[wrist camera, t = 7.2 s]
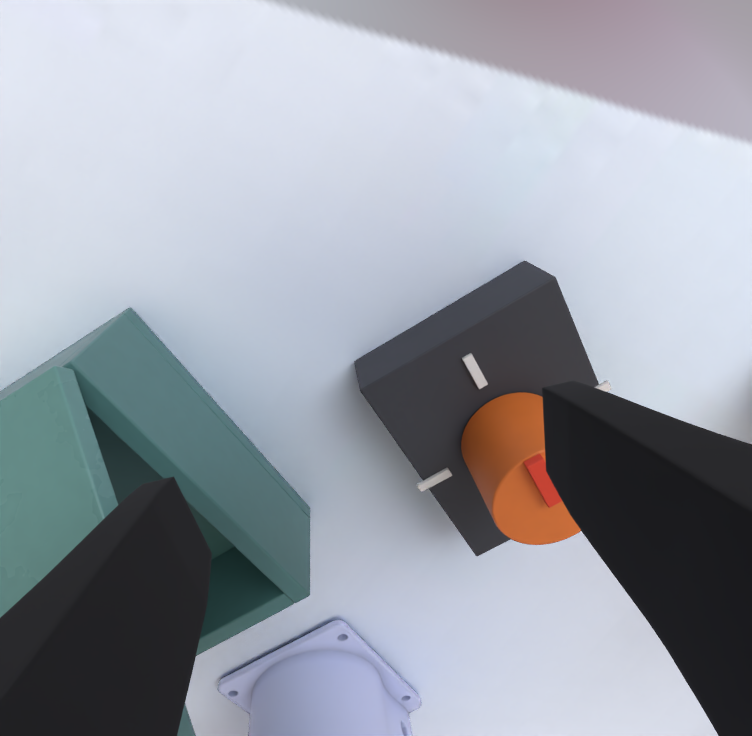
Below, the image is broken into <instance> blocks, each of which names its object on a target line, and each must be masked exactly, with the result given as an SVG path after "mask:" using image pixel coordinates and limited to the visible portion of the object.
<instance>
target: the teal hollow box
mask: <svg viewBox="0 0 752 736" xmlns="http://www.w3.org/2000/svg"><path fill="white" fill-rule="evenodd" d="M53 366H59V367H64V368H69V369H72V370H73V371H74V373H75V376H76V379H77V382H78V385H79V388H80V391H81V394H82V397H83V400H84V403H85V406H86V409H87V412H88V415H89V418H90V421H91V424H92V427H93V430H94V433H95V436H96V439H97V442H98V445H99V448H100V451H101V454H102V457H103V460H104V463H105V466H106V469H107V472H108V475H109V478H110V481H111V484H112V487H113V490H114V493H115V496H116V499H117V502H118V505H119V504H120V503H121V502H122V501H123V500H124V499H125V498H126V497H127V496H129V495H130V494H131V493H132V492H133V491H134V490H136V489H137V488H138V487H139V486H140V485H142V484H144V483H149V482H153V481H157V480H161V479H165V478H169V477H173V476H174V478H175V480H176V482H177V484H178V486H179V488H180V490H181V492H182V494H183V496H184V498H185V500H186V502H187V504H188V506H189V508H190V510H191V512H192V514H193V516H194V518H195V520H196V522H197V524H198V526H199V528H200V530H201V532H202V534H203V536H204V538H205V540H206V542H207V544H208V546H209V548H210V550H211V552H212V559H211V571H210V583H209V592H208V601H207V608H206V612H205V617H204V622H203V626H202V631H201V635H200V639H199V644H198V648H197V653H196V656H197V655H198V654H200V653H202V652H204V651H206V650H208V649H210V648H212V647H214V646H215V645H217V644H219V643H221V642H223V641H225V640H227V639H229V638H231V637H232V636H234V635H236V634H238V633H240V632H242V631H244V630H246V629H248V628H249V627H251V626H253V625H255V624H257V623H259V622H261V621H263V620H265V619H266V618H268V617H270V616H272V615H274V614H276V613H278V612H280V611H282V610H283V609H285V608H287V607H289V606H291V605H293V604H294V603H297V602H299V601H300V600H302V599H304V598H306V597H308V596H309V595H310V508H309V507H308V505H307V504H306V503H305V502H304V501H303V500H302V499H301V498H300V496H299V495H298V494H297V493H296V492H295V491H294V490H293V489H292V487H291V486H290V485H289V484H288V483H287V482H286V481H285V480H284V479H283V477H282V476H281V475H280V474H279V473H278V472H277V471H276V470H275V468H274V467H273V466H272V465H271V464H270V463H269V462H268V461H267V460H266V458H265V457H264V456H263V455H262V454H261V453H260V452H259V451H258V449H257V448H256V447H255V446H254V445H253V444H252V443H251V442H250V440H249V439H248V438H247V437H246V436H245V435H244V434H243V433H242V432H241V430H240V429H239V428H238V427H237V426H236V425H235V424H234V423H233V421H232V420H231V419H230V418H229V417H228V416H227V415H226V414H225V412H224V411H223V410H222V409H221V408H220V407H219V406H218V405H217V404H216V402H215V401H214V400H213V399H212V398H211V397H210V396H209V395H208V393H207V392H206V391H205V390H204V389H203V388H202V387H201V386H200V384H199V383H198V382H197V381H196V380H195V379H194V378H193V377H192V376H191V374H190V373H189V372H188V371H187V370H186V369H185V368H184V367H183V365H182V364H181V363H180V362H179V361H178V360H177V359H176V358H175V357H174V355H173V354H172V353H171V352H170V351H169V350H168V349H167V348H166V346H165V345H164V344H163V343H162V342H161V341H160V340H159V339H158V337H157V336H156V335H155V334H154V333H153V332H152V331H151V330H150V329H149V327H148V326H147V325H146V324H145V323H144V322H143V321H142V320H141V318H140V317H139V316H138V315H137V314H136V313H135V312H134V311H133V309H132V308H128V309H126V310H125V311H123V312H122V313H120V314H119V315H117V316H116V317H114V318H113V319H111V320H109V321H108V322H106V323H105V324H103V325H102V326H100V327H99V328H97V329H96V330H94V331H93V332H91V333H89V334H88V335H86V336H85V337H83V338H82V339H80V340H79V341H77V342H76V343H74V344H73V345H71V346H69V347H68V348H66V349H65V350H63V351H62V352H60V353H59V354H57V355H56V356H54V357H53V358H51V359H49V360H48V361H46V362H45V363H43V364H42V365H40V366H39V367H37V368H36V369H34V370H33V371H31V372H30V373H28V374H26V375H25V376H23V377H22V378H20V379H19V380H17V381H16V382H14V383H13V384H11V385H10V386H8V387H6V388H5V389H3V390H2V391H0V400H2V399H3V398H5V397H7V396H8V395H10V394H11V393H13V392H14V391H16V390H17V389H19V388H20V387H22V386H23V385H25V384H27V383H28V382H30V381H31V380H33V379H34V378H36V377H37V376H39V375H40V374H42V373H44V372H45V371H47V370H48V369H50V368H51V367H53Z"/></svg>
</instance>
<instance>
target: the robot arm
mask: <svg viewBox="0 0 752 736" xmlns="http://www.w3.org/2000/svg"><path fill="white" fill-rule="evenodd" d="M542 396H543V417H544V438H545V459H546V472H547V474H548V476H549V477H550V479H551V481H552V483H553V485H554V487H555V489H556V491H557V492H558V494H559V496H560V498H561V500H562V501H563V503H564V505H565V507H566V508H567V510H568V512H569V514H570V515H571V517H572V518H573V520H574V521H575V522H576V524H577V525H578V527H579V528H580V529H581V531H582V532H583V533H584V535H585V536H586V538H587V539H588V540H589V542H590V543H591V545H592V546H593V547H594V549H595V550H596V551H597V553H598V554H599V555H600V557H601V558H602V560H603V561H604V562H605V564H606V565H607V566H608V568H609V569H610V570H611V572H612V573H613V574H614V576H615V577H616V578H617V580H618V581H619V583H620V584H621V585H622V587H623V588H624V589H625V591H626V592H627V593H628V595H629V596H630V597H631V599H632V600H633V602H634V603H635V604H636V606H637V607H638V608H639V610H640V611H641V612H642V614H643V615H644V616H645V618H646V619H647V621H648V622H649V624H650V625H651V626H652V628H653V629H654V631H655V632H656V634H657V635H658V637H659V638H660V640H661V641H662V643H663V644H664V646H665V647H666V649H667V650H668V652H669V654H670V655H671V657H672V658H673V660H674V662H675V663H676V665H677V667H678V668H679V670H680V672H681V673H682V675H683V677H684V678H685V680H686V682H687V683H688V685H689V686H690V688H691V690H692V691H693V693H694V695H695V696H696V698H697V700H698V701H699V703H700V705H701V706H702V708H703V709H704V711H705V713H706V715H707V716H708V718H709V720H710V722H711V723H712V725H713V727H714V728H715V730H716V732H717V734H718V735H719V736H752V445H751V444H748V443H745V442H742V441H739V440H736V439H733V438H730V437H727V436H724V435H721V434H718V433H715V432H712V431H709V430H706V429H703V428H700V427H698V426H695V425H692V424H689V423H686V422H684V421H681V420H678V419H675V418H673V417H670V416H667V415H665V414H662V413H660V412H657V411H654V410H652V409H649V408H646V407H644V406H641V405H639V404H636V403H634V402H631V401H628V400H626V399H623V398H621V397H618V396H616V395H613V394H610V393H608V392H605V391H603V390H600V389H597V388H594V387H592V386H589V385H586V384H583V383H580V382H577V381H573V380H572V381H568V382H564V383H560V384H555V385H551V386H547V387H543V388H542ZM211 559H212V552H211V550H210V548H209V546H208V544H207V542H206V540H205V538H204V536H203V534H202V532H201V530H200V528H199V526H198V524H197V522H196V520H195V518H194V516H193V514H192V512H191V510H190V508H189V506H188V504H187V502H186V500H185V498H184V496H183V494H182V492H181V490H180V488H179V486H178V484H177V482H176V480H175V478H174V476H173V477H169V478H165V479H161V480H157V481H153V482H149V483H144V484H142V485H140V486H139V487H138V488H137V489H136V490H134V491H133V492H132V493H131V494H130V495H129V496H127V497H126V498H125V499H124V500H123V501H122V502H121V503H120V504H119V505H118V506H117V507H116V508H115V509H114V510H113V511H112V512H110V513H109V514H108V515H107V516H106V517H105V518H104V519H103V520H102V521H101V522H100V523H99V524H98V525H97V526H96V527H95V528H94V529H93V530H92V531H91V532H90V533H89V534H88V535H87V536H86V537H85V538H84V539H83V540H82V541H81V542H80V543H79V544H78V545H77V546H76V547H75V548H74V549H73V550H72V551H71V552H70V553H69V554H68V555H67V556H66V557H64V558H63V559H62V560H61V561H60V562H59V563H58V564H57V565H56V566H55V567H54V568H53V569H52V570H51V571H50V572H49V573H48V574H47V575H46V576H45V577H44V578H43V579H42V580H41V581H40V582H38V583H37V584H36V585H35V586H34V587H33V588H32V589H31V590H30V591H29V592H28V593H27V594H25V595H24V596H23V597H22V598H21V599H20V600H19V601H18V602H17V603H16V604H15V605H14V606H12V607H11V608H10V609H9V610H8V611H7V612H6V613H5V614H4V615H3V616H2V617H1V618H0V736H177V734H178V730H179V725H180V721H181V717H182V712H183V708H184V704H185V700H186V695H187V691H188V687H189V683H190V678H191V674H192V670H193V665H194V661H195V657H196V653H197V648H198V644H199V639H200V635H201V631H202V626H203V622H204V617H205V612H206V608H207V601H208V592H209V583H210V571H211ZM218 691H219V692H220V693H221V694H222V695H224V696H225V697H227V698H228V699H229V700H231V701H232V702H234V703H235V704H236V705H238V706H239V707H241V708H242V709H243V710H245V711H246V712H248V713H249V714H250V721H249V731H248V736H413V735H412V729H411V723H410V718H409V713H411V712H413V711H415V710H417V709H418V708H420V706H421V704H422V702H421V698H420V696H419V695H418V694H417V693H416V692H415V691H414V690H413V689H412V688H411V687H410V686H409V685H408V684H407V683H406V682H405V681H404V680H403V679H402V678H401V677H400V676H399V675H398V674H397V673H396V672H395V671H394V670H393V669H392V668H391V667H390V666H389V665H388V664H387V663H386V662H385V661H384V660H383V659H382V658H381V657H380V656H379V655H378V654H377V653H376V652H375V651H374V650H373V649H371V648H370V647H369V646H368V645H367V644H366V643H365V642H364V641H363V640H362V639H361V638H360V637H359V636H358V635H357V634H356V633H355V632H354V631H353V630H352V629H351V628H350V627H349V626H348V625H347V624H346V623H345V622H344V621H342V620H334V621H332V622H330V623H328V624H326V625H324V626H322V627H320V628H318V629H316V630H315V631H313V632H311V633H309V634H307V635H305V636H303V637H301V638H299V639H297V640H295V641H293V642H291V643H289V644H288V645H286V646H284V647H282V648H280V649H278V650H276V651H274V652H272V653H270V654H268V655H266V656H264V657H262V658H261V659H259V660H257V661H255V662H253V663H251V664H249V665H247V666H245V667H243V668H241V669H239V670H237V671H235V672H234V673H232V674H230V675H228V676H226V677H224V678H222V679H221V680H220V681H219V684H218Z"/></svg>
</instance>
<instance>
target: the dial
mask: <svg viewBox="0 0 752 736" xmlns="http://www.w3.org/2000/svg"><path fill="white" fill-rule="evenodd" d="M461 451H462V455H463V459H464V461H465V463H466V465H467V467H468V469H469V471H470V473H471V475H472V477H473V479H474V481H475V483H476V485H477V487H478V489H479V491H480V493H481V496H482V498H483V500H484V502H485V504H486V506H487V508H488V510H489V512H490V514H491V516H492V518H493V520H494V522H495V524H496V526H497V527H498V529H499V530H500V531H501V532H502V533H503V534H504V535H506V536H507V537H509V538H510V539H512V540H514V541H517V542H520V543H524V544H530V545H543V544H550V543H554V542H558V541H561V540H564V539H567V538H569V537H571V536H573V535H575V534H577V533H579V532H580V531H581V529H580V528H579V527H578V525H577V524H576V522H575V521H574V520H573V518H572V517H571V515H570V514H569V512H568V510H567V508H566V507H565V505H564V503H563V501H562V500H561V498H560V496H559V494H558V492H557V491H556V489H555V487H554V485H553V483H552V481H551V479H550V477H549V476H548V474H547V472H546V459H545V438H544V417H543V397H542V396H539V395H536V394H533V393H526V392H517V393H510V394H506V395H503V396H500V397H497V398H495V399H493V400H491V401H489V402H488V403H486V404H485V405H484V406H482V407H481V408H480V409H479V410H478V411H477V412H476V413H475V414H474V415H473V416H472V417H471V419H470V420H469V422H468V423H467V425H466V427H465V429H464V432H463V435H462V441H461Z"/></svg>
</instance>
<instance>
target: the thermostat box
mask: <svg viewBox="0 0 752 736" xmlns="http://www.w3.org/2000/svg"><path fill="white" fill-rule="evenodd" d="M355 367H356V372H357V376H358V381H359V386H360V391H361V392H362V394H363V395H364V397H365V398H366V400H367V401H368V402H369V404H370V405H371V407H372V408H373V410H374V411H375V412H376V414H377V415H378V417H379V418H380V420H381V421H382V422H383V424H384V425H385V427H386V428H387V430H388V431H389V432H390V434H391V435H392V437H393V438H394V439H395V441H396V442H397V444H398V445H399V447H400V448H401V449H402V451H403V452H404V454H405V455H406V457H407V458H408V459H409V461H410V462H411V464H412V465H413V467H414V468H415V469H416V471H417V472H418V474H419V475H420V477H421V478H422V479H423V481H421V482H420V483H418V484H417V487H418V488H419V490H420V491H421V492H423V491H425V490H427V489H428V488H429V489H430V491H431V492H432V494H433V495H434V496H435V498H436V499H437V501H438V502H439V504H440V505H441V506H442V508H443V509H444V511H445V512H446V514H447V515H448V516H449V518H450V519H451V521H452V522H453V524H454V525H455V526H456V528H457V529H458V531H459V532H460V533H461V535H462V536H463V538H464V539H465V541H466V542H467V543H468V545H469V546H470V548H471V549H472V551H473V552H474V553H475V555H476V556H479V555H481V554H483V553H485V552H487V551H489V550H490V549H492V548H494V547H496V546H498V545H500V544H502V543H504V542H506V541H508V540H510V538H509V537H507V536H506V535H504V534H503V533H502V532H501V531H500V530H499V529H498V527H497V526H496V524H495V522H494V520H493V518H492V516H491V514H490V512H489V510H488V508H487V506H486V504H485V502H484V500H483V498H482V496H481V493H480V491H479V489H478V487H477V485H476V483H475V481H474V479H473V477H472V475H471V473H470V471H469V469H468V467H467V465H466V463H465V461H464V459H463V455H462V451H461V441H462V435H463V432H464V429H465V427H466V425H467V423H468V422H469V420H470V419H471V417H472V416H473V415H474V414H475V413H476V412H477V411H478V410H479V409H480V408H481V407H482V406H484V405H485V404H486V403H488V402H489V401H491V400H493V399H495V398H497V397H500V396H503V395H506V394H510V393H517V392H526V393H533V394H536V395H539V396H542V388H543V387H547V386H551V385H555V384H560V383H564V382H568V381H572V380H573V381H577V382H580V383H583V384H586V385H589V386H592V387H594V388H597V389H600V390H603V391H605V392H607V391H609V390H611V386H610V383H609V382H608V381H605V382H603V383H601V384H599V383H598V381H597V379H596V376H595V374H594V371H593V369H592V366H591V364H590V361H589V359H588V356H587V354H586V351H585V349H584V346H583V344H582V342H581V339H580V337H579V334H578V332H577V329H576V327H575V324H574V322H573V319H572V317H571V314H570V312H569V309H568V307H567V304H566V302H565V300H564V297H563V295H562V292H561V290H560V287H559V285H558V282H557V280H556V277H554V276H552V275H551V274H549V273H547V272H545V271H543V270H541V269H540V268H538V267H536V266H534V265H532V264H530V263H528V262H527V261H523V262H522V263H520V264H518V265H517V266H515V267H513V268H512V269H510V270H508V271H506V272H505V273H503V274H501V275H500V276H498V277H496V278H495V279H493V280H491V281H490V282H488V283H486V284H484V285H483V286H481V287H479V288H478V289H476V290H474V291H473V292H471V293H469V294H468V295H466V296H464V297H462V298H461V299H459V300H457V301H456V302H454V303H452V304H451V305H449V306H447V307H446V308H444V309H442V310H441V311H439V312H437V313H435V314H434V315H432V316H430V317H429V318H427V319H425V320H424V321H422V322H420V323H419V324H417V325H415V326H413V327H412V328H410V329H408V330H407V331H405V332H403V333H402V334H400V335H398V336H397V337H395V338H393V339H392V340H390V341H388V342H386V343H385V344H383V345H381V346H380V347H378V348H376V349H375V350H373V351H371V352H370V353H368V354H366V355H364V356H363V357H361V358H359V359H358V360H356V361H355ZM542 397H543V396H542Z"/></svg>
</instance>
